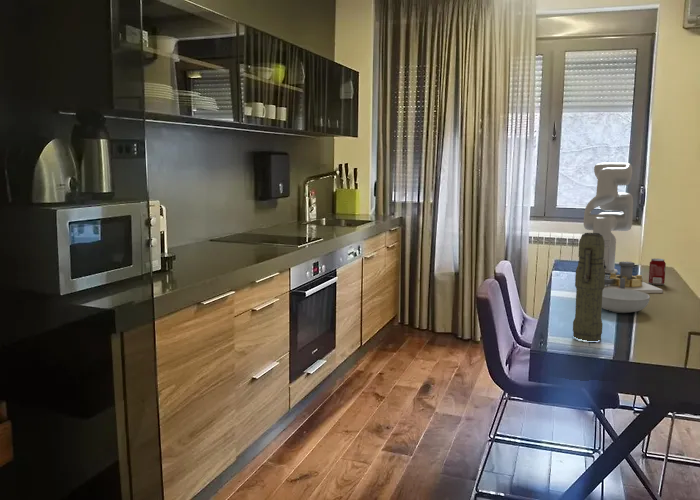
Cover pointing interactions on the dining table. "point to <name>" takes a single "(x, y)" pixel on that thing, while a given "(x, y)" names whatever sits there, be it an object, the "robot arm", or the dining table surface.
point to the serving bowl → (623, 300)
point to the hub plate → (627, 271)
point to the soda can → (657, 271)
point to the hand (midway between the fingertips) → (599, 282)
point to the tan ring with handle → (633, 282)
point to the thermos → (589, 288)
